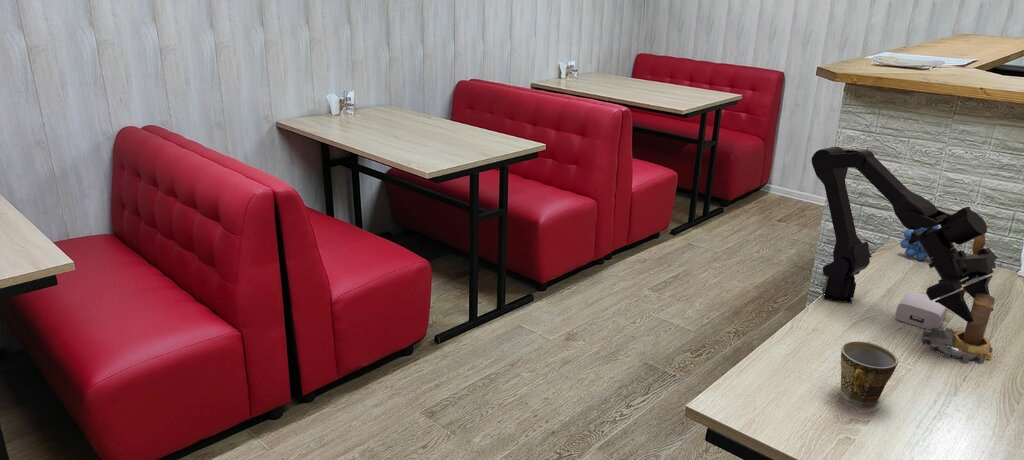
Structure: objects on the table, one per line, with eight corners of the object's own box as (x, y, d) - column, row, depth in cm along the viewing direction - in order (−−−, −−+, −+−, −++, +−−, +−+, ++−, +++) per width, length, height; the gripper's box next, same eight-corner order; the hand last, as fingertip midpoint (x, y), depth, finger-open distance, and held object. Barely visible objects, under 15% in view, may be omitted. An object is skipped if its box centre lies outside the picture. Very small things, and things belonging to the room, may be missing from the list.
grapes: (944, 260, 208) (954, 222, 203) (940, 268, 203) (951, 229, 198) (900, 250, 214) (909, 213, 210) (895, 257, 209) (905, 219, 205)
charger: (949, 310, 178) (936, 332, 168) (909, 299, 184) (894, 319, 173) (954, 293, 177) (941, 314, 166) (913, 282, 182) (898, 302, 172)
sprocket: (929, 357, 157) (933, 344, 155) (915, 328, 169) (918, 316, 168) (1000, 368, 153) (1004, 355, 152) (980, 337, 165) (984, 325, 164)
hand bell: (954, 291, 189) (969, 235, 183) (946, 278, 196) (961, 224, 190) (989, 296, 186) (1006, 239, 181) (980, 283, 194) (996, 228, 188)
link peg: (967, 351, 157) (983, 301, 152) (956, 342, 160) (971, 293, 156) (983, 351, 157) (999, 301, 153) (972, 342, 161) (987, 293, 156)
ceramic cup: (840, 377, 148) (850, 335, 144) (892, 396, 142) (903, 352, 139) (820, 405, 139) (830, 361, 135) (875, 426, 133) (887, 381, 129)
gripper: (955, 246, 149) (997, 315, 144) (995, 229, 159) (1036, 293, 154) (908, 267, 157) (947, 332, 153) (949, 250, 167) (987, 310, 163)
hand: (981, 316), depth 156 cm, fingers open, 9 cm apart
